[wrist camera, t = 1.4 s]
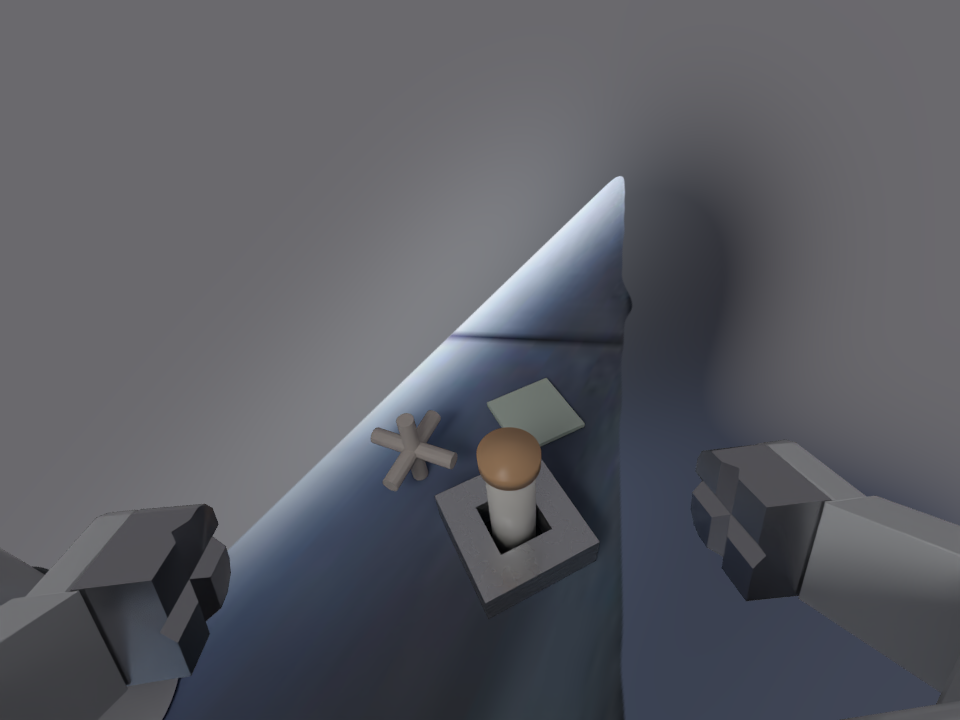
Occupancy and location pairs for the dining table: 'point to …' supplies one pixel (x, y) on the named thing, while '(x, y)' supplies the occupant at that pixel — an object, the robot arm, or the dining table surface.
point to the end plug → (510, 484)
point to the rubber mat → (536, 412)
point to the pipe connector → (412, 448)
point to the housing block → (527, 564)
